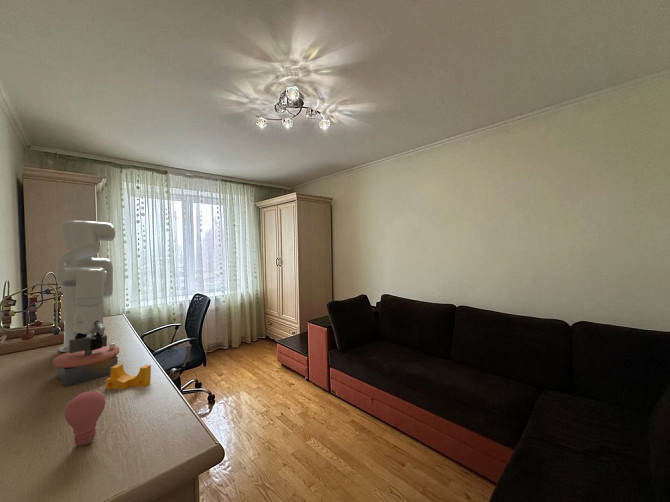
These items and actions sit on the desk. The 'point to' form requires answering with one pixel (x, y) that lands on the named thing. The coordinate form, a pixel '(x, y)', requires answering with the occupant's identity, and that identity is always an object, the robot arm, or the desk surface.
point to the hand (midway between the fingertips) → (88, 347)
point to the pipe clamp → (128, 378)
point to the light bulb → (85, 415)
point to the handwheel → (85, 353)
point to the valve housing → (85, 372)
